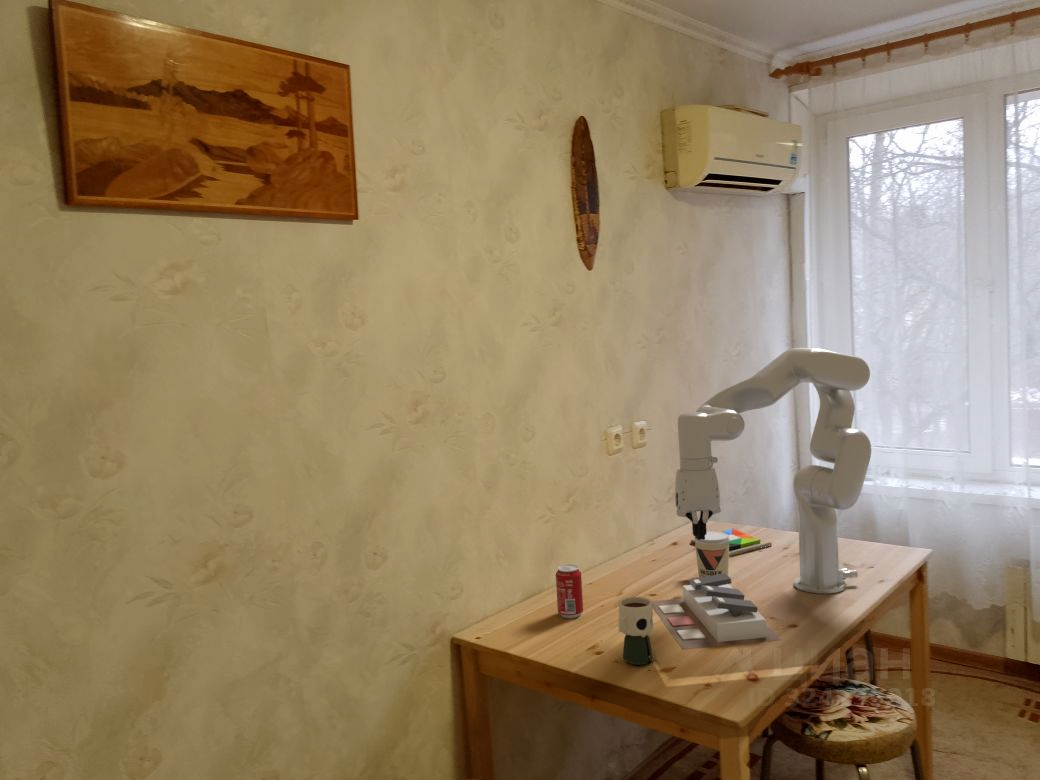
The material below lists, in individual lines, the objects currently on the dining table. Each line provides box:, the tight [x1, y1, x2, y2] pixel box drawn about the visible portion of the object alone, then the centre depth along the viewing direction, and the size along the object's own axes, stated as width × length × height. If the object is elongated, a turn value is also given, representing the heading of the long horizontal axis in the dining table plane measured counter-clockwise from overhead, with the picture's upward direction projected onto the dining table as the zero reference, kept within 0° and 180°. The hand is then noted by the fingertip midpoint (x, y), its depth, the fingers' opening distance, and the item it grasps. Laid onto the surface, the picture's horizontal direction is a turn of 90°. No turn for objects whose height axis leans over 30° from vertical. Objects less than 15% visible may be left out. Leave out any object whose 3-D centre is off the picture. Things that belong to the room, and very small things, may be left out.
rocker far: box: [689, 573, 732, 590], centre depth 200 cm, size 9×4×3 cm, turn 95°
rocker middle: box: [701, 585, 746, 600], centre depth 192 cm, size 9×4×3 cm, turn 95°
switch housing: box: [682, 584, 767, 642], centre depth 193 cm, size 11×26×4 cm, turn 5°
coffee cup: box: [693, 530, 730, 578], centre depth 224 cm, size 9×9×12 cm
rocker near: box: [711, 596, 758, 617], centre depth 184 cm, size 9×4×3 cm, turn 95°
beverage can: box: [555, 564, 584, 619], centre depth 203 cm, size 6×6×12 cm
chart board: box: [651, 597, 782, 650], centre depth 193 cm, size 22×30×2 cm
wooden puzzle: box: [690, 528, 773, 557], centre depth 254 cm, size 18×19×4 cm
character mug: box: [617, 596, 654, 666], centre depth 174 cm, size 11×7×13 cm, turn 134°
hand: (699, 538), depth 199 cm, fingers closed
